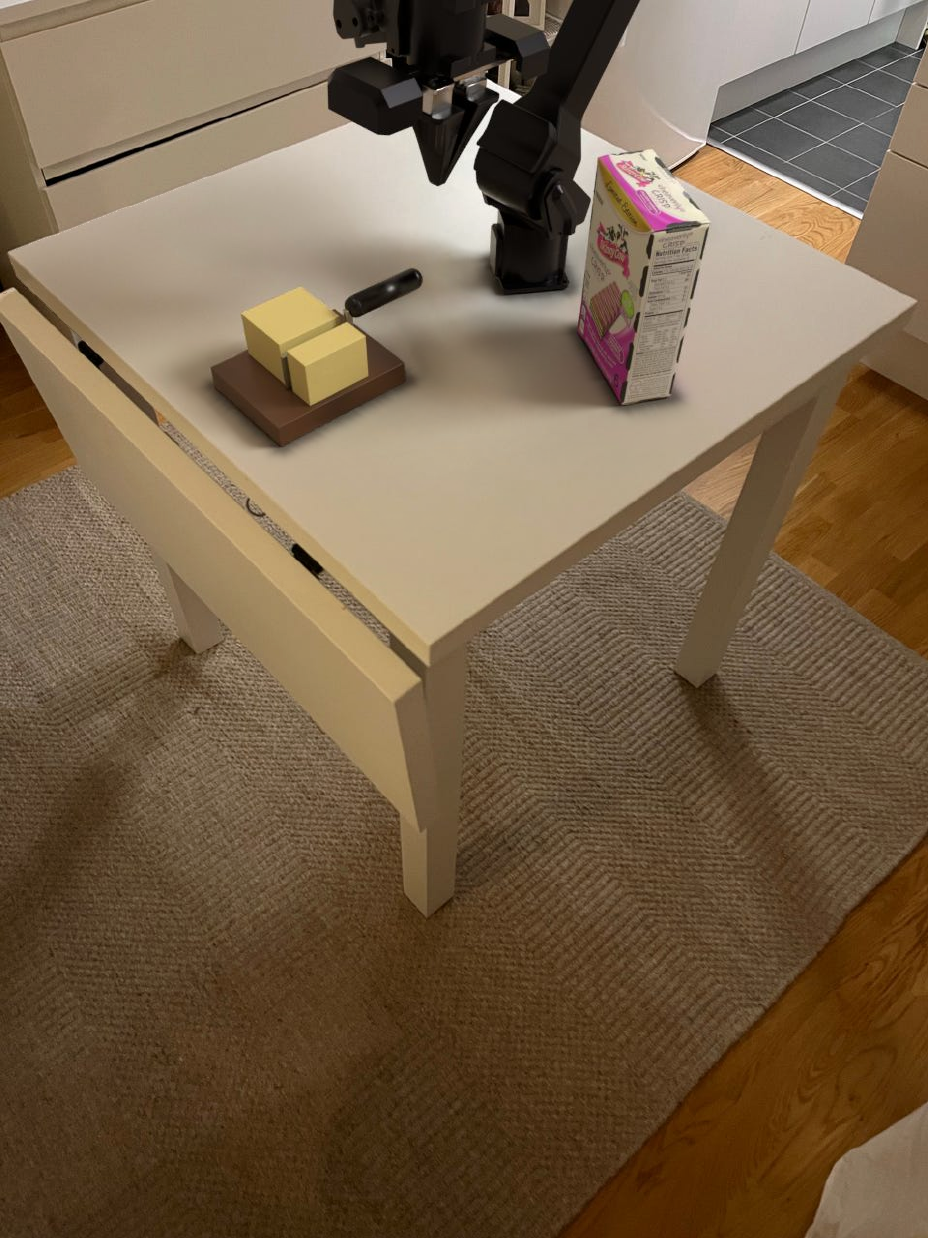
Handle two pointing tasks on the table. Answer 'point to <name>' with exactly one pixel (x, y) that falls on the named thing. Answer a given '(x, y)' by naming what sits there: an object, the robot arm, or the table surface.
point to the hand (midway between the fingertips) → (436, 183)
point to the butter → (306, 344)
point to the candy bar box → (639, 273)
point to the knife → (372, 301)
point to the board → (284, 408)
